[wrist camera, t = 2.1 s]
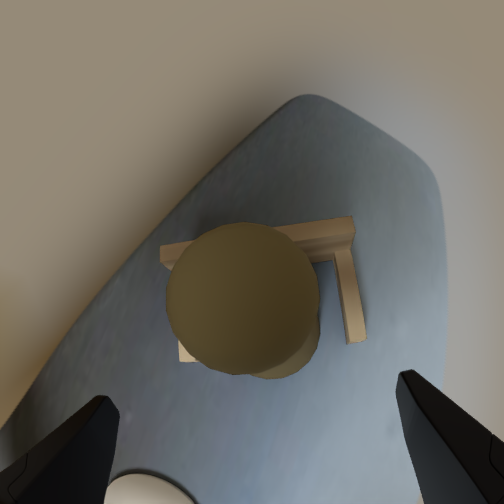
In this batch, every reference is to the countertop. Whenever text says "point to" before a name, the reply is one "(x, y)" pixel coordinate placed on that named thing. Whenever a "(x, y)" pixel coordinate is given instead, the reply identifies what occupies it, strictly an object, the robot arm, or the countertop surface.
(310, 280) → the cork
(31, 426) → the countertop surface
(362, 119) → the countertop surface
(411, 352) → the countertop surface
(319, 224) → the holder
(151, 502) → the saucer
